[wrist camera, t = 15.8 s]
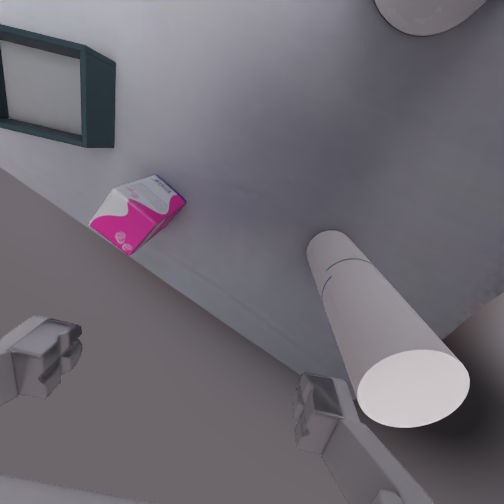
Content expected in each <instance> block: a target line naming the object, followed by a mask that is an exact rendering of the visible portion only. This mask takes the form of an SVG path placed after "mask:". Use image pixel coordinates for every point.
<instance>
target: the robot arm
mask: <svg viewBox="0 0 504 504" xmlns="http://www.w3.org/2000/svg"><path fill="white" fill-rule="evenodd" d="M374 1H375V3H376V5H377V8H378V9H379V11H380V13H381V14H382V15H383V17H384V18H385V19H386V20H387V21H388V22H389V23H390V24H391V25H392V26H393V27H395V28H396V29H398V30H400V31H402V32H404V33H407V34H411V35H417V36H428V35H434V34H438V33H441V32H444V31H447V30H449V29H451V28H453V27H455V26H457V25H458V24H460V23H461V22H463V21H464V20H466V19H467V18H468V17H469V16H471V15H472V14H473V13H474V12H475V11H476V10H477V9H478V8H479V7H480V6H482V5H483V4H484V3H485V2H486V1H487V0H374ZM81 334H82V331H81V326H79V325H77V324H73V323H68V322H64V321H60V320H55V319H50V318H45V317H42V316H38V315H37V316H32V317H30V318H29V319H28V320H26V321H25V322H23V323H22V324H20V325H19V326H17V327H16V328H15V329H13V330H12V331H11V332H9V333H8V334H6V335H5V336H4V337H2V338H1V339H0V406H2V405H4V404H6V403H7V402H9V401H11V400H13V399H14V398H16V397H18V395H23V396H29V397H35V398H41V399H46V398H47V397H48V396H49V395H50V394H51V393H52V392H53V390H54V389H55V388H56V387H57V386H58V385H59V384H60V383H61V375H63V374H66V373H67V372H70V371H71V370H72V369H73V368H74V366H75V365H76V364H77V362H78V360H79V358H80V356H81V352H82V343H81V342H80V340H79V339H78V337H79V336H80V335H81ZM300 385H301V386H299V387H298V388H296V391H295V393H294V398H293V417H294V418H295V420H296V421H297V424H296V427H295V429H294V430H295V438H296V448H297V450H301V451H305V452H310V453H314V454H318V455H321V458H322V459H323V461H324V463H325V465H326V466H327V468H328V470H329V472H330V473H331V475H332V477H333V478H334V480H335V482H336V483H337V485H338V487H339V489H340V491H341V492H342V494H343V496H344V498H345V499H346V501H347V502H348V504H434V502H433V500H432V498H431V497H430V496H429V495H428V494H427V493H426V491H425V490H424V489H423V488H422V487H421V486H420V485H419V484H418V483H417V481H416V480H415V479H414V478H413V477H412V476H411V475H410V474H409V473H408V472H407V470H406V469H405V468H404V467H403V466H402V465H401V464H400V463H399V462H398V460H397V459H396V458H395V457H394V456H393V455H392V454H391V453H390V452H389V450H388V449H387V448H386V447H385V446H384V445H383V444H382V443H381V442H380V441H379V439H378V438H377V437H376V436H375V435H374V434H373V433H372V432H371V431H370V430H369V428H368V427H367V426H366V425H365V424H362V423H360V420H359V418H358V415H357V412H356V409H355V406H354V404H353V400H352V398H351V395H350V392H349V389H348V386H347V383H346V382H345V380H342V379H337V378H332V377H326V376H321V375H316V374H311V373H306V372H304V373H303V374H302V375H301V378H300ZM0 504H157V503H152V502H146V501H141V500H136V499H130V498H125V497H119V496H114V495H109V494H104V493H98V492H93V491H88V490H83V489H77V488H72V487H66V486H61V485H56V484H51V483H45V482H40V481H34V480H29V479H24V478H19V477H14V476H8V475H3V474H0Z"/></svg>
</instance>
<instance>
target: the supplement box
mask: <svg viewBox="0 0 504 504" xmlns="http://www.w3.org/2000/svg"><path fill="white" fill-rule="evenodd" d="M185 203H186V201H185V199H184V198H182V197H181V196H180V195H179V194H178V193H177V192H176V191H175V190H173V189H172V188H171V187H170V186H169V185H168V184H167V183H166V182H165V181H163V180H162V179H161V178H160V177H159V176H158V175H153V176H150V177H147V178H144V179H140V180H137V181H134V182H131V183H128V184H124V185H121V186H118V187H114V188H113V189H112V190H111V192H110V193H109V195H108V196H107V197H106V199H105V200H104V202H103V203H102V205H101V206H100V208H99V209H98V211H97V212H96V214H95V215H94V216H93V218H92V219H91V221H90V222H89V223H88V224H89V225H90V226H91V227H92V228H94V229H95V230H96V231H98V232H99V233H100V234H102V235H103V236H104V237H105V238H107V239H108V240H109V241H111V242H112V243H113V244H114V245H116V246H117V247H118V248H120V249H121V250H122V251H123V252H125V253H126V254H127V255H129V256H130V255H131V254H133V253H134V252H135V251H136V250H138V249H139V248H140V247H141V246H142V245H144V244H145V243H146V242H147V241H149V240H150V239H151V238H152V237H153V236H155V235H156V234H157V233H158V232H160V231H161V230H162V229H163V228H164V227H165V226H166V225H167V224H168V223H169V222H170V221H171V220H172V218H173V217H174V216H175V215H176V214H177V213H178V212H179V210H180V209H181V208H182V207H183V206H184V204H185Z"/></svg>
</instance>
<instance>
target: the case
mask: <svg viewBox="0 0 504 504" xmlns="http://www.w3.org/2000/svg"><path fill="white" fill-rule="evenodd" d="M0 40H4V41H9V42H13V43H17V44H21V45H25V46H29V47H33V48H37V49H41V50H45V51H49V52H53V53H57V54H61V55H65V56H70V57H74V58H78V59H80V77H81V118H82V136H81V135H77V134H73V133H68V132H64V131H60V130H56V129H51V128H47V127H43V126H39V125H34V124H30V123H26V122H22V121H18V120H13V119H9V118H8V110H7V102H6V93H5V85H4V77H3V68H2V60H1V51H0V128H5V129H9V130H13V131H17V132H22V133H26V134H30V135H34V136H39V137H43V138H47V139H51V140H56V141H60V142H64V143H68V144H73V145H77V146H81V147H85V148H114V121H115V67H116V63H115V62H114V61H112V60H110V59H109V58H107V57H105V56H103V55H101V54H100V53H98V52H96V51H94V50H93V49H91V48H89V47H87V46H85V45H82V44H78V43H74V42H70V41H66V40H62V39H58V38H54V37H50V36H46V35H42V34H38V33H34V32H30V31H26V30H22V29H18V28H13V27H9V26H5V25H1V24H0Z"/></svg>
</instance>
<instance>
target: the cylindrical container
mask: <svg viewBox="0 0 504 504" xmlns="http://www.w3.org/2000/svg"><path fill="white" fill-rule="evenodd" d="M306 256H307V260H308V263H309V266H310V269H311V271H312V274H313V277H314V280H315V283H316V285H317V288H318V291H319V294H320V297H321V299H322V302H323V305H324V308H325V311H326V313H327V316H328V319H329V322H330V325H331V327H332V330H333V333H334V336H335V339H336V341H337V344H338V347H339V350H340V353H341V355H342V358H343V361H344V364H345V367H346V369H347V372H348V375H349V378H350V381H351V383H352V386H353V389H354V392H355V395H356V397H357V400H358V403H359V405H360V407H361V409H362V410H363V411H364V413H365V414H366V415H367V416H368V417H370V418H371V419H373V420H375V421H376V422H379V423H381V424H384V425H387V426H392V427H402V428H406V427H407V428H409V427H418V426H423V425H427V424H431V423H433V422H436V421H438V420H440V419H442V418H444V417H446V416H448V415H449V414H451V413H452V412H453V411H454V410H456V409H457V408H458V407H459V406H460V405H461V404H462V402H463V400H464V399H465V397H466V396H467V393H468V390H469V383H470V382H469V381H470V379H469V375H468V372H467V370H466V369H465V367H464V366H463V364H462V363H461V362H460V361H459V360H458V359H457V357H456V356H455V355H454V354H452V352H451V351H450V350H449V349H448V348H447V346H446V345H445V344H444V343H443V342H442V341H441V340H440V339H439V337H438V336H437V335H436V334H435V333H434V332H433V331H432V330H431V329H430V327H429V326H428V325H427V324H426V323H425V322H424V321H423V320H422V319H421V317H420V316H419V315H418V314H417V313H416V312H415V311H414V310H413V309H412V307H411V306H410V305H409V304H408V303H407V302H406V301H405V300H404V299H403V297H402V296H401V295H400V294H399V293H398V292H397V291H396V290H395V289H394V287H393V286H392V285H391V284H390V283H389V282H388V281H387V280H386V279H385V277H384V276H383V275H382V274H381V273H380V272H379V271H378V270H377V269H376V267H375V266H374V265H373V264H372V263H371V262H370V261H369V260H368V258H367V257H366V256H365V255H364V254H363V253H362V252H361V251H360V250H359V248H358V247H357V246H356V245H355V244H354V243H353V242H352V241H351V240H350V238H349V237H348V236H346V235H345V234H344V233H342V232H339V231H335V230H328V231H323V232H321V233H319V234H317V235H316V236H315V237H314V238H313V239H312V240H311V241H310V242H309V244H308V246H307V250H306Z"/></svg>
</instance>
